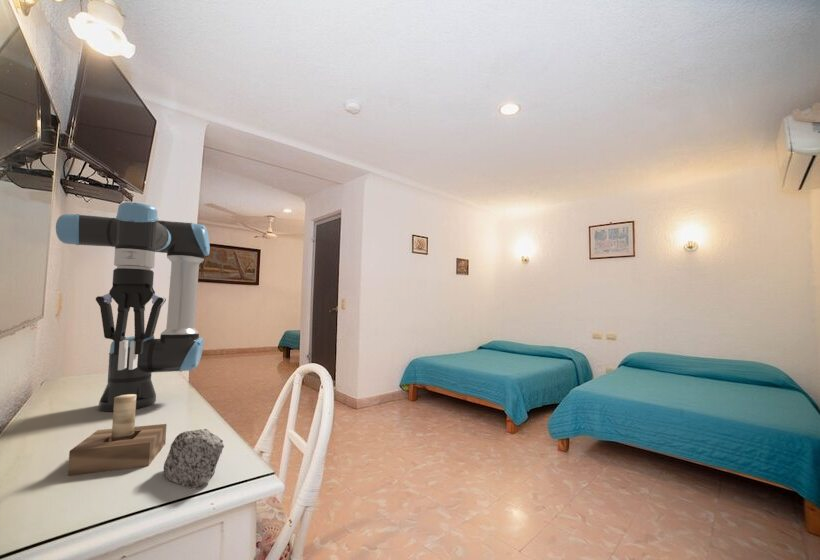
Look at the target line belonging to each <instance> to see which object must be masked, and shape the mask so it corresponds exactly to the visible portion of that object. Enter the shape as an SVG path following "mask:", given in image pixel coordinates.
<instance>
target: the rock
mask: <svg viewBox="0 0 820 560" xmlns="http://www.w3.org/2000/svg"><path fill="white" fill-rule="evenodd" d="M224 448H225V445H224V441H223V439H222V438H220V437H219V436H218V435H216V434H214V433H212V432H211V431H210V430H209V429H207V428H203V429H200V428H199V429H195V430H187V431H186V430H185V431H182V432H180V433H179V434H178V435H177V436H176V437H174V439H173V441H172V443H171V444H170V449H169V452H168V454H167V456H166V459H165V461H164V463H163V473H164V475H165V477H166V478H167V479H168V480H169V481H171V482H173V483H176V484H177V485H181V486H183V487H184V488H185V487H186V488H189V489H192V490H193V489H196V488H198V487H200V486H202V485H204V484H205V485H206V484H208V482H210V481H211V480H212V479H213V476H214V475H215V474H216V468H217V467H218V466H217V464H218V462H219V459H220V456H221V454H222V453H223V449H224Z"/></svg>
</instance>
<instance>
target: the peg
mask: <svg viewBox="0 0 820 560" xmlns="http://www.w3.org/2000/svg"><path fill="white" fill-rule="evenodd" d="M136 396H137V395H135V394H127V395H121V396H117V397H115V398H114V410H113V411H112V414H113V415H112V427H111V429H112V435H111V441H120V440H129V439H133V438H134V427H136V426H135V425H136V424H135V423H136V422H135V421H136Z"/></svg>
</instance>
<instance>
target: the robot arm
mask: <svg viewBox="0 0 820 560" xmlns="http://www.w3.org/2000/svg"><path fill="white" fill-rule="evenodd" d="M55 233H56V234H55V235H56V237H57V239H58V240H59V241H60V242H62V243H63V244H67V245H76V246H92V247H93V246H95V247H112V248H114V257H113V259H114V260H113V266H115V267H116V268H114V269H113V271H112V272H113V273H112V287H111V289H110V290H109V293H105V294H104V295H98V296H96V297H95V301H96V302H97V304H98V306H99V308H100V315H101V322H102V330H103V336H104V338H105V339H107V340H108V339H109V340H112V341H111V343H110V348H109V353H108V355H109V356H108V370H107V371H108V373H107V383H106V386H105V388H104V390H103V393H102V395H101V397H100V399H99V401H98V410H99V411H102V412H113V410H114V398H115V397H117V396H121V395H127V394H135V395H137V396H136V409H141V408H144V407H147V406H150V405H153V404H155V403H156V401H157V393H156V391H155V387H154V385H153V381H152V373H169V372H171V373H172V372H180V373H181V372H185V371H186V372H187V371H188V372H189V371H193V370H195V369H196V368H198V366H199V363H200V361H201V358H202V355H203V350H204V343H205V342H204V338H203V337H201V336H200V332H199V331H198V330H197V329H196V328H195V327H196V326H195V325H196V314H197V312H196V311H197V300H198V287H199V286H198V283H199V272H200V271H199V269H200V264H201V263H203V262H204V261H205V257H207V256H210V251H211V247H210V245H211V244H210V237H209V231H208V229H207V227H206V226H205V225H203V224H201V223H200V224H199V223H193V222H183V221H182V222H180V221H168V220H159V218H158V209H157V208H156V207H154V206H153V205H150V204H146V203H140V202H132V201H129V202H128V201H126V202H121V203H120V204H119V205H118V208H117V213H116V217H106V216H97V215H85V214H77V213H76V214H73V213H63V214H61V216H58V218H57V220H56V224H55ZM156 253H160V254H161V253H162V254H164V253H165V254H166V258H167V259H168V260H169V262H171V265H170V266H171V267H170V277H169V289H168V290H169V291H168V303H167V313H166V314H167V315H166V317H167V318H166V328H165V330H163V331H162V332H161V333H160V337H159V338H155V331H156V329H157V324H158V320H159V316H160V313H161V309H162V307H163V305H164V304H166V303H165V302H166V301H167V299H166V297H161V296H159V295H157V294H156V292H155V290H154V273H155V272H154V271H153V270H152V269H154V268H155V260H156V259H155V257H156V256H155V255H156ZM113 301H114V302H115V303H116V304H117V316H116V321H115V322H116V324H115V322H114V314H113V308H112V307H113V306H112V304H111V303H112V302H113ZM150 301H151V303H152V306H151V309H150V313H149V317H148V321H147V324H146V327H145V311H146V305H147V304H148V303H149V302H150ZM131 308H133V309H132V310H133V315H134V336H133V335H132V336H127V337H126V331H127V325H128V324H127V323H128V318H129V312H130V310H131Z"/></svg>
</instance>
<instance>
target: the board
mask: <svg viewBox="0 0 820 560" xmlns="http://www.w3.org/2000/svg"><path fill="white" fill-rule="evenodd" d="M167 426H168V425H167V423H160V424H152V425H150V424H149V425H137V426H134V438H133V439H129V440H120V441H111V435H112V428H104V429H97V430H95V431H94V432H93V433H91V435H89V436H88V437H86V438H85V439H84V440H82V441H81V442H79V443H78V444H76V446H74V447H73V448H72V449H70V450H69V454H68V467H67V476H76V475H83V474H91V473H99V472H108V471H115V470H116V471H117V470H124V469H131V468H133V469H134V468H140V467H149V466H150V464H152V462H153V461H154V460H155V459H156V457H157V455H158V454H159V453H160V452H161V450H162V449H163V448H164V446H165V445H166V438H167Z"/></svg>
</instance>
